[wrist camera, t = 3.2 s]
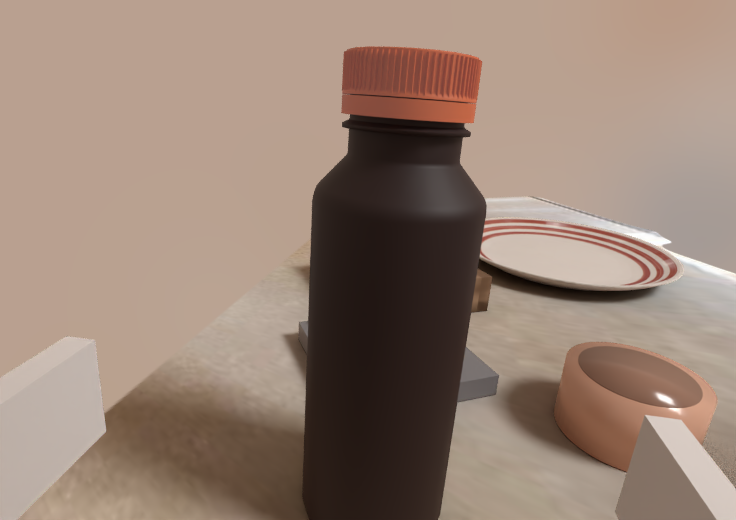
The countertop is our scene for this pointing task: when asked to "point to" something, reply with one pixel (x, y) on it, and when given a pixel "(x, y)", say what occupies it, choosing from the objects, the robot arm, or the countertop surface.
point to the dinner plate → (575, 255)
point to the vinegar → (391, 287)
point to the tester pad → (473, 378)
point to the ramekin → (626, 398)
